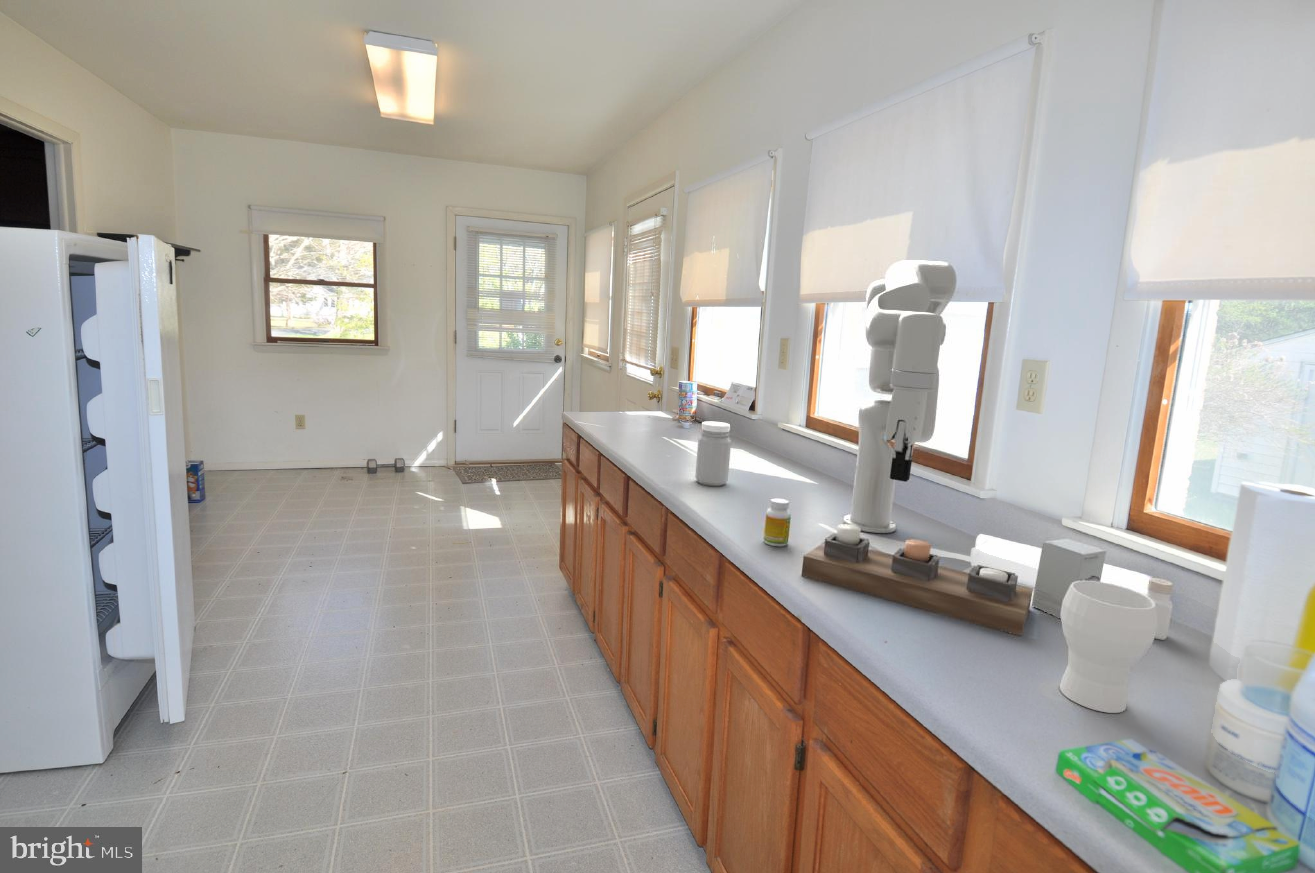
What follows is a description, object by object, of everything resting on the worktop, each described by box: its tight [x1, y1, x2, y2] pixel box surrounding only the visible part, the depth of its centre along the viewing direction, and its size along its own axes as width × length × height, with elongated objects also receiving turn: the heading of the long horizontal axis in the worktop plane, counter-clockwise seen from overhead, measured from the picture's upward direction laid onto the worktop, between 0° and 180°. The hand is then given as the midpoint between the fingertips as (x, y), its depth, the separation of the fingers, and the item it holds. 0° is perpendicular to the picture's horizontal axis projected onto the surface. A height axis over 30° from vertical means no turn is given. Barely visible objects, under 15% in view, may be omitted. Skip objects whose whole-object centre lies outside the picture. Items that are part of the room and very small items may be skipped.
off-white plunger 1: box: [836, 523, 862, 546], centre depth 131 cm, size 4×4×3 cm
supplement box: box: [1031, 538, 1107, 620], centre depth 120 cm, size 7×7×13 cm
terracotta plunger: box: [904, 538, 932, 563], centre depth 124 cm, size 4×4×3 cm
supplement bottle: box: [763, 497, 792, 547], centre depth 148 cm, size 5×5×10 cm
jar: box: [694, 420, 732, 487], centre depth 200 cm, size 10×10×18 cm
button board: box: [800, 532, 1034, 637], centre depth 125 cm, size 14×38×7 cm, turn 57°
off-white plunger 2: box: [979, 567, 1008, 582], centre depth 118 cm, size 4×4×3 cm
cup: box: [1059, 581, 1157, 714], centre depth 91 cm, size 11×11×15 cm
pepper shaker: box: [1144, 577, 1174, 641], centre depth 113 cm, size 4×4×10 cm
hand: (899, 479), depth 125 cm, fingers closed
